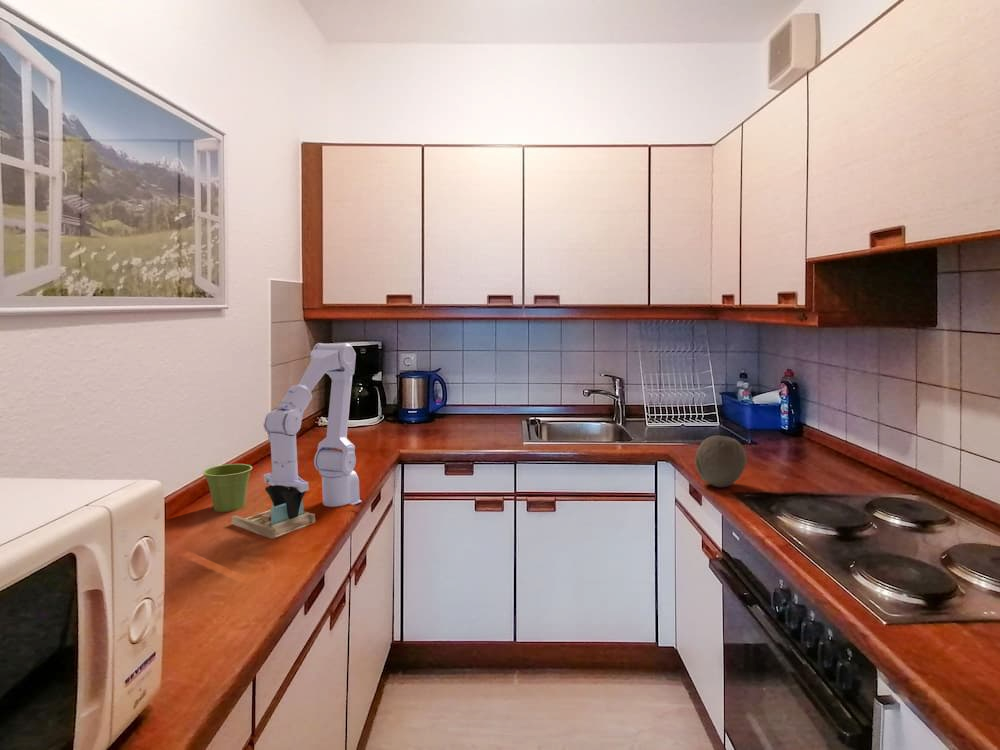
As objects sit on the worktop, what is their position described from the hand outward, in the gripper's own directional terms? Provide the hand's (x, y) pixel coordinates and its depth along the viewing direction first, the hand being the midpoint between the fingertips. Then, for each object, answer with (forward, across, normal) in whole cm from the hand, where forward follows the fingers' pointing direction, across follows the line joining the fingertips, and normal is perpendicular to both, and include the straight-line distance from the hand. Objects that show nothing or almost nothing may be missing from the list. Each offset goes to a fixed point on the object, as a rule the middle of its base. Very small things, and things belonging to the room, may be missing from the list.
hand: (287, 515), depth 136 cm
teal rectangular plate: (+3, 0, 0) cm, 3 cm away
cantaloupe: (+4, +78, +93) cm, 122 cm away
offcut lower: (+3, -5, 0) cm, 6 cm away
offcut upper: (+2, -5, 0) cm, 5 cm away
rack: (+4, -6, 0) cm, 7 cm away
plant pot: (+4, -26, +1) cm, 26 cm away
